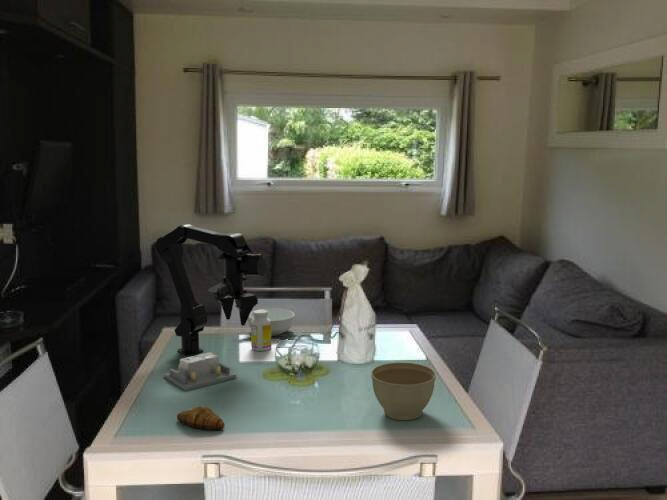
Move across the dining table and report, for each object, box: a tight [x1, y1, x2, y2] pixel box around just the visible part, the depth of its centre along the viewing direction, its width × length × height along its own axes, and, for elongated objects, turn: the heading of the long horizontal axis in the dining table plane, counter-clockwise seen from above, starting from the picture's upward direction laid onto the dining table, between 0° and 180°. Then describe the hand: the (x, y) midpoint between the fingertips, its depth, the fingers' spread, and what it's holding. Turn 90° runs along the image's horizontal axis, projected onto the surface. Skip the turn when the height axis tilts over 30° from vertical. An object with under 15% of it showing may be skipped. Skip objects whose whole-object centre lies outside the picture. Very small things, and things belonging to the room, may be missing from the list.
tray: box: [163, 361, 237, 392], centre depth 192 cm, size 14×16×4 cm
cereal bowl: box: [247, 308, 296, 337], centre depth 237 cm, size 17×17×7 cm
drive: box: [179, 351, 220, 380], centre depth 192 cm, size 5×10×5 cm, turn 130°
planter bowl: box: [370, 361, 437, 421], centre depth 165 cm, size 16×16×11 cm
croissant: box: [176, 406, 225, 431], centre depth 159 cm, size 14×7×5 cm, turn 65°
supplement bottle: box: [250, 309, 272, 352], centre depth 218 cm, size 7×7×13 cm
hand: (235, 322), depth 207 cm, fingers open, 9 cm apart
